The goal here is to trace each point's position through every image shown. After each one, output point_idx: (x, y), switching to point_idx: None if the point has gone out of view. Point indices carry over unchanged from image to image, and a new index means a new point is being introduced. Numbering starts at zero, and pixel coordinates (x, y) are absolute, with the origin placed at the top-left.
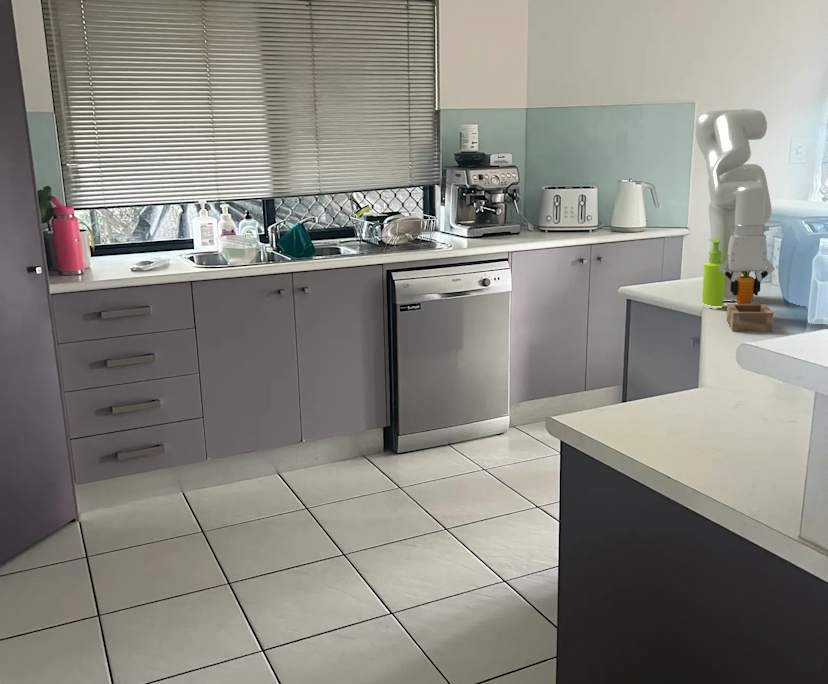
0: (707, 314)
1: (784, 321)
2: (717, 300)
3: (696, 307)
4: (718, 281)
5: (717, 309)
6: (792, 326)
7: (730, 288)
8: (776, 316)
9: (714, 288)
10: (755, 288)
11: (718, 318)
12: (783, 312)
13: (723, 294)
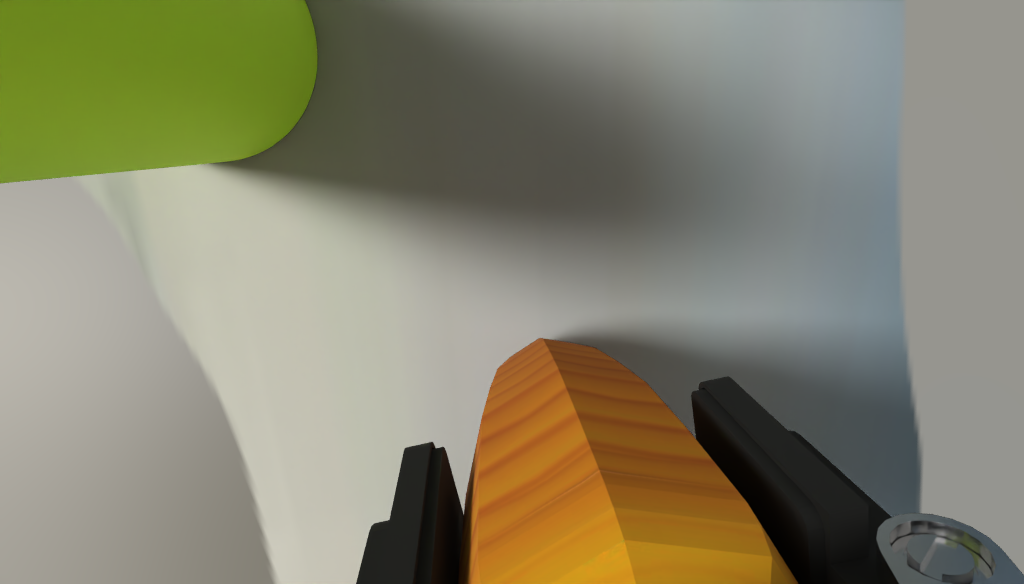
0: (222, 371)
1: (840, 447)
2: (228, 152)
3: None
4: (26, 161)
5: (276, 159)
6: None
7: (371, 556)
8: (806, 313)
9: (68, 175)
10: None
11: (342, 475)
12: (889, 159)
13: (260, 40)
